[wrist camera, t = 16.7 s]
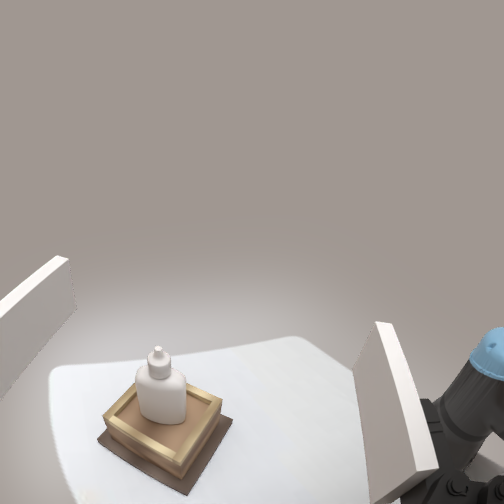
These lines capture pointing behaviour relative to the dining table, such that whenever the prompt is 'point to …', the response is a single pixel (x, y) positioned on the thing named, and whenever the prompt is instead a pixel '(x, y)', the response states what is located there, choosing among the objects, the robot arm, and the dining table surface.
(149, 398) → the eye dropper bottle
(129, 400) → the display pedestal
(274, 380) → the dining table surface
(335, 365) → the dining table surface
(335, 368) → the dining table surface
